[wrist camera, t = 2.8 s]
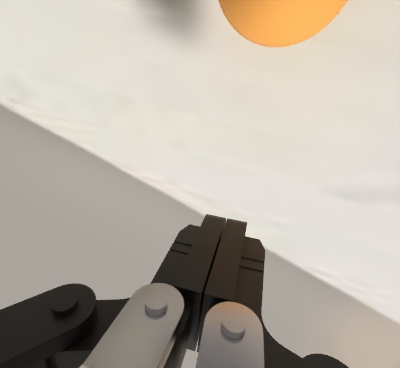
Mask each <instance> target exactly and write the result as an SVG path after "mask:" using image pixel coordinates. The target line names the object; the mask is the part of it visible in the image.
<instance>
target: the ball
mask: <svg viewBox="0 0 400 368" xmlns="http://www.w3.org/2000/svg"><path fill="white" fill-rule="evenodd" d="M346 2H347V0H219V3H220V6H221V8H222V11H223V13H224V15H225V16H226V18H227V20H228V21H229V23H230V24H231V25H232V27H233V28H234V29H235V30H236V31H237V32H238V33H239V34H240V35H241V36H243V37H244V38H246V39H247V40H249V41H251V42H253V43H256V44H259V45H262V46H268V47H284V46H290V45H293V44H297V43H299V42H302V41H304V40H306V39H308V38H310V37H312V36H314V35H315V34H317V33H318V32H319V31H321V30H322V29H323V28H324V27H326V26H327V25H328V24H329V23H330V22H331V21H332V20H333V19H334V18H335V17H336V15H337V14H338V13H339V12H340V10H341V9H342V8H343V6H344V5H345V4H346Z"/></svg>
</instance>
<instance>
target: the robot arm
mask: <svg viewBox="0 0 400 368" xmlns="http://www.w3.org/2000/svg"><path fill="white" fill-rule="evenodd" d="M246 226H247V222H242V221H237V220H233V219H227V221H226V218H223V217H218V216H213V215H208V214H206V216H205V218H204V220H203V222H202V225H201V227H199V226H194V225H188V226H187V227H185V228H184V229H183V230H181V231H180V232H179V234H178V235H177V237H176V239H175V241H174V243H173V244H172V246H171V248H170V251H168V253H167V255H166V257H165V259H164V260H163V262H162V264H161V266H160V268H159V269H158V271H157V273H156V275H155V277H154V278H153V280H152V282H151V284H148V285H145V286H143V287H141V288H140V289H138V290H137V291H136V292H135V293H134V294H133V295H132V296H131V297H130V298H127V299H119V300H96V296H95V293H94V292H93V290H92V289H91V288H89V287H87V286H85V285H83V284H67V285H62V286H60V287H57V288H54V289H52V290H49V291H47V292H44V293H42V294H39V295H37V296H34V297H32V298H29V299H26V300H24V301H22V302H19V303H16V304H14V305H12V306H9V307H6V308H4V309H1V310H0V368H181V365H182V362H183V359H184V355H185V352H186V349H190V350H193V351H195V349H196V345H197V341H198V338H199V341H198V349H197V352H199V353H198V358H197V364H196V368H348V367H347V366H346V365H345V364H343V363H342V362H340V361H339V360H337V359H335V358H333V357H330V356H328V355H323V354H310V355H307V356H305V357H304V358H301V357H299V356H298V355H296V354H295V353H293V352H291V351H290V350H288V349H286V348H285V347H283V346H282V345H280V344H279V343H278V342H277V341H276V340H275V339H274V338H272V336H271V335H270V334H269V332H268V331H267V330H266V328H265V326H264V323H263V321H262V316H261V306H262V291H263V275H264V274H263V273H264V260H265V249H264V247H263V245H262V243H261V241H260V240H259V239H254V238H250V237H245V232H246Z"/></svg>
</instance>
